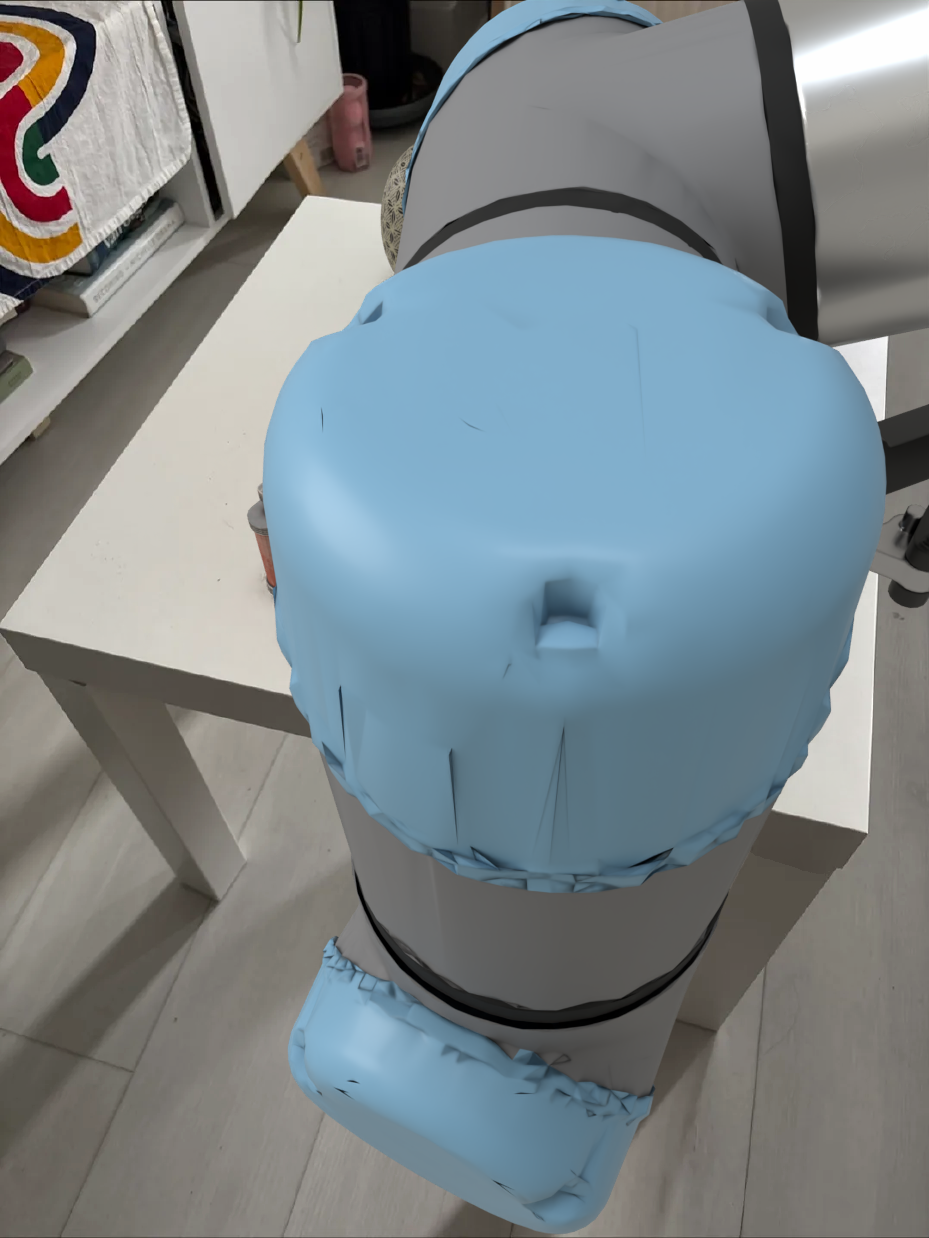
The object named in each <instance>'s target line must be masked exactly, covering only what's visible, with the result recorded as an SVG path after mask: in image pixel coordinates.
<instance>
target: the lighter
mask: <svg viewBox="0 0 929 1238" xmlns="http://www.w3.org/2000/svg"><path fill="white" fill-rule="evenodd" d="M256 492H257V494H258V498H259V500H258V501H256V503H254V504H253V505H251V507H250V508H249V509H248V510H247V514H246V517H247V518H246V519H247V521H248V525H249V527H250V530H251V531H252V532H253V533H254V536H255V541H256V543H257V546H258V550H259V554H260V557H261V560H262V564H263V567H264V571H265V578H264V579H265V583H266V586H267V591H268V592H269V593H270V595H272V596H273V588H274V587H275V586H276V577H275V571H274V565H273V559H272V553H271V547H270V541H269V534H268V528H267V522H266V516H265V510H264V503H263V482H261V483H259V484H257V486H256Z"/></svg>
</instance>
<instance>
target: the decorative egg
mask: <svg viewBox="0 0 929 1238" xmlns="http://www.w3.org/2000/svg"><path fill="white" fill-rule="evenodd" d="M414 145H415V142H414V143H413V144H412V145H410V146H409V147H408V148H407V149H406V150H405V151H404V152H402V154H401V155H400V157H399V158H398V159H397V161H396V162H395V163H394V165H393V167H392V169H391V171H390V172H389V174H388V177H387V179H386V182H385V185H384V189H383V194H382V199H381V206H380V234H381V240H382V246H383V250H384V253H385V257H386V259H387V261H388V264H389V266H390V268H391V270H392V272H393V273H394V272H395V266H396V261H397V255H398V249H399V244H400V238H401V232H402V227H403V221H404V217H403V209H402V198H403V194H404V190H405V186H406V168H407V166H408V163H409V161H410V159H411V156H412V152H413V148H414Z"/></svg>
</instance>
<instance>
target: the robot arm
mask: <svg viewBox="0 0 929 1238" xmlns="http://www.w3.org/2000/svg"><path fill="white" fill-rule="evenodd" d="M414 143H415V145H414V148H413V152H412V156H411V159H410V161H409V163H408V166H407V168H406V186H405V190H404V194H403V198H402V209H403V217H404V221H403V227H402V232H401V238H400V244H399V249H398V255H397V261H396V266H395V272H393V275H392V276H390V277H388V278H387V279H384V280H383V281H382V282H380V283H379V284H377V285H376V286H374V287H373V288H372V289H371V290H370V291H369V292H367V293H366V294H365V296H364V298H363V301H362V303H361V305H360V306H359V309H358V310H357V311H356V313H355V314H354V316H353V317H352V319H351V320H350V322H349V323H348V324H347V325H346V326H345V327H344V328H342V330H339V331H336V332H332V333H329V334H326V335H323V336H321V337H318V338H316V339H313V340H311V341H310V342H309V344H308V346H307V347H306V349H305V350H304V351H303V352H302V354H301V355H300V356H299V358H298V359H297V360H296V361H295V363H294V365H293V366H292V368H291V370H290V371H289V373H288V374H287V375H286V377H285V380H284V382H283V384H282V385H281V388H280V389H279V393H278V395H277V398H276V400H275V404H274V407H273V410H272V413H271V417H270V420H269V423H268V426H267V429H266V434H265V439H264V444H263V462H262V483H263V503H264V510H265V516H266V522H267V528H268V534H269V541H270V547H271V553H272V559H273V565H274V571H275V577H276V586H275V587H274V588H273V595H272V596H273V606H274V607H273V608H274V619H275V634H276V642H277V644H278V647H279V649H280V652H281V653H282V655H283V657H284V658H285V660H286V662H287V663H288V665H289V667H290V668H291V670H290V671H291V672H290V679H289V686H288V689H289V692H290V694H291V697H292V699H293V701H294V704H295V707H296V708H297V709H298V711H299V712H300V713H301V715H302V716H303V718H304V719H305V720H306V721H307V723H308V724H309V730H310V736H311V742H312V744H313V745H314V746H315V747H316V749H318V752H319V755H320V758H321V762H322V765H323V768H324V771H325V775H326V778H327V781H328V784H329V788H330V790H331V793H332V797H333V800H334V804H335V807H336V810H337V814H338V817H339V821H340V823H341V826H342V829H343V832H344V836H345V839H346V843H347V845H348V849H349V852H350V861H351V875H352V878H353V882H354V887H355V891H356V895H357V899H358V905H357V906H356V909H355V911H354V912H353V913H352V915H351V917H350V919H349V920H348V921H347V923H346V925H345V926H344V928H343V929H342V932H341V933H340V934H339V936H337V935H334V936H331V938H329V940H328V941H327V944H326V945H325V947H324V949H323V950H322V952H323V956H322V962H321V963H322V964H321V966H320V968H319V970H318V972H317V974H316V977H315V979H314V981H313V983H312V985H311V987H310V990H309V992H308V994H307V996H306V999H305V1001H304V1003H303V1005H302V1007H301V1009H300V1011H299V1014H298V1016H297V1018H296V1020H295V1022H294V1024H293V1026H292V1029H291V1031H290V1034H289V1040H288V1044H287V1061H288V1065H289V1069H290V1073H291V1076H292V1078H293V1080H294V1081H295V1083H296V1084H297V1086H298V1088H299V1089H300V1090H301V1091H302V1093H303V1094H304V1095H305V1096H306V1097H307V1098H308V1099H309V1100H310V1101H311V1102H312V1103H313V1104H314V1105H315V1106H317V1107H318V1109H320V1110H321V1111H323V1113H325V1114H326V1115H327V1116H328V1117H330V1118H331V1119H332V1120H333V1121H335V1122H336V1123H338V1124H339V1125H341V1126H342V1127H343V1128H344V1129H346V1130H347V1131H349V1133H351V1134H353V1135H354V1136H356V1137H357V1138H359V1139H360V1140H361V1141H363V1142H365V1143H366V1144H368V1145H369V1146H371V1147H372V1148H374V1149H375V1150H377V1151H378V1152H380V1153H382V1154H383V1155H384V1156H387V1157H388V1158H389V1159H391V1160H393V1161H395V1162H396V1163H397V1164H399V1165H400V1166H402V1167H403V1168H406V1169H407V1170H408V1171H411V1172H412V1173H414V1174H416V1175H417V1176H418V1177H421V1178H422V1179H424V1180H426V1181H428V1182H430V1183H431V1184H433V1185H434V1186H437V1187H439V1188H440V1189H442V1190H445V1191H446V1192H448V1193H450V1194H452V1195H454V1197H455V1196H456V1197H457V1198H459V1199H461V1200H463V1201H465V1202H467V1203H469V1204H471V1205H474V1206H475V1207H477V1208H479V1209H481V1210H483V1211H485V1212H487V1213H489V1214H491V1215H493V1216H496V1217H498V1218H500V1219H503V1220H505V1221H508V1222H510V1223H512V1224H515V1225H518V1226H521V1227H524V1228H527V1229H529V1230H532V1231H535V1232H538V1233H539V1232H540V1233H543V1234H552V1235H568V1234H571V1233H575V1232H578V1231H581V1230H582V1229H584V1228H586V1227H588V1226H589V1225H591V1223H593V1222H594V1221H595V1220H596V1219H598V1217H599V1216H600V1214H601V1213H602V1211H603V1210H604V1209H605V1208H606V1206H607V1204H608V1202H609V1200H610V1197H611V1195H612V1191H614V1188H615V1184H616V1182H617V1180H618V1177H619V1175H620V1172H621V1170H622V1167H623V1164H624V1162H625V1159H626V1157H627V1154H628V1152H629V1149H630V1147H631V1144H632V1142H633V1139H634V1136H635V1134H636V1132H637V1129H638V1127H639V1125H640V1122H641V1121H643V1120H644V1119H645V1118H647V1117H648V1116H650V1112H651V1110H652V1109H651V1108H652V1104H653V1101H654V1096H655V1094H654V1093H655V1091H656V1088H655V1087H656V1085H655V1084H654V1082H655V1080H656V1076H657V1074H658V1071H659V1067H660V1065H661V1062H662V1059H663V1057H664V1053H665V1050H666V1047H667V1045H668V1042H669V1039H670V1036H671V1034H672V1030H673V1028H674V1025H675V1023H676V1020H677V1017H678V1014H679V1011H680V1009H681V1006H682V1003H683V1001H684V998H685V995H686V993H687V990H688V988H689V986H690V983H691V981H692V979H693V978H694V975H695V973H696V971H697V968H698V966H699V965H700V962H701V960H702V959H703V956H704V954H705V952H706V950H707V948H708V946H709V944H710V942H711V940H712V937H713V936H714V933H715V931H716V928H717V927H718V924H719V920H720V916H721V912H722V910H723V908H724V905H725V903H726V901H727V898H728V896H729V893H730V890H731V887H732V885H733V883H734V881H735V880H736V877H737V875H738V873H739V872H740V870H741V868H742V866H743V865H744V863H745V861H746V859H747V857H748V855H749V853H750V852H751V849H752V848H753V845H754V844H755V841H756V840H757V838H758V836H759V835H760V832H761V831H762V829H763V827H764V825H765V823H766V821H767V820H768V818H769V815H770V814H771V812H772V810H773V808H774V806H775V805H776V803H777V800H778V799H779V797H780V795H781V794H782V792H783V789H784V787H785V786H786V784H787V781H788V780H789V779H790V778H791V777H792V776H793V775H794V774H796V773H797V772H798V771H799V770H800V769H802V767H803V765H804V764H805V762H806V760H807V759H808V756H809V745H810V743H812V741H813V740H814V739H815V738H816V736H817V735H818V734H819V733H820V732H821V730H822V729H823V727H824V725H825V723H826V721H827V720H828V718H829V716H830V714H831V712H832V701H831V700H832V699H831V689H832V687H833V686H834V685H835V683H836V682H837V680H838V679H839V678H840V676H841V675H842V673H843V672H844V669H845V667H846V666H847V664H848V662H849V661H850V660H849V659H850V654H851V653H850V652H851V645H852V639H853V633H854V632H853V630H854V622H855V615H856V611H857V609H858V605H859V602H860V599H861V596H862V593H863V590H864V587H865V584H866V582H867V579H868V576H869V572H872V573H874V574H876V575H879V576H882V577H884V578H887V579H890V582H889V584H888V587H887V593H888V595H889V598H890V599H891V600H892V601H893V602H894V603H896V604H897V605H898V606H901V607H904V608H907V609H918V608H921V607H923V606H925V604H926V603H927V602H928V600H929V504H928V505H927V507H926V508H925V507H924V506H923V505H920V504H916V503H915V504H910V505H908V506H907V508H906V509H905V512H904V513H899V514H895V515H894V516H892V517H891V518H890V519H888V520H887V521H885V522H884V519H885V513H886V512H885V511H886V497H887V495H890V494H893V493H895V492H898V491H900V490H903V489H907V488H909V487H911V486H915V485H918V484H920V483H922V482H925V481H928V480H929V403H928V404H925V405H922V406H919V407H916V408H913V409H910V410H907V411H905V412H901V413H898V414H896V415H893V416H890V417H887V418H884V419H881V420H879V421H878V419H877V416H876V413H875V410H874V408H873V405H872V403H871V400H870V398H869V396H868V393H867V392H866V389H865V387H864V386H863V384H862V382H861V381H860V380H859V378H858V376H857V375H856V373H855V372H854V370H853V369H852V368H851V366H850V364H849V363H848V361H847V360H846V358H845V357H844V356H843V355H842V353H840V351H839V350H837V349H835V348H837V347H842V346H847V345H852V344H857V343H861V342H866V341H871V340H876V339H877V340H878V339H882V338H886V337H890V336H891V337H892V336H895V335H900V334H905V333H911V332H915V331H920V330H925V329H929V0H738V1H734V2H730V3H727V4H723V5H719V6H716V7H712V8H709V9H706V10H702V11H699V12H695V13H692V14H689V15H685V16H682V17H679V18H676V19H671V20H668V21H666V22H665V21H664V22H663V21H662V20H661V19H660V18H659V17H657V16H655V14H653V13H652V12H650V11H649V10H648V9H645V8H644V7H641V6H640V5H637V4H635V3H632V2H630V1H627V0H523V1H521V2H519V3H516V4H514V5H513V6H510V7H508V8H506V9H505V10H502V11H501V12H499V13H498V14H497V15H496V16H494V17H493V18H491V19H490V20H488V21H487V22H486V23H484V24H483V25H482V26H481V27H480V28H479V29H478V30H477V31H476V32H475V33H474V34H472V36H471V37H470V38H469V39H468V41H467V42H466V44H464V46H463V47H462V48H461V49H460V51H458V53H457V55H456V56H455V57H454V59H453V60H452V62H451V63H450V65H449V67H447V70H446V71H445V74H444V75H443V77H442V79H441V82H440V85H439V86H438V88H437V91H436V94H435V96H434V99H433V102H432V104H431V107H430V109H429V110H428V111H427V114H426V116H425V118H424V121H423V123H422V125H421V127H420V129H419V131H418V134H417V137H416V140H415V142H414Z"/></svg>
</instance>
